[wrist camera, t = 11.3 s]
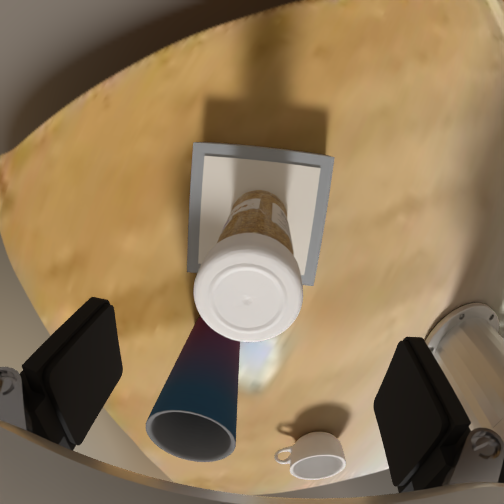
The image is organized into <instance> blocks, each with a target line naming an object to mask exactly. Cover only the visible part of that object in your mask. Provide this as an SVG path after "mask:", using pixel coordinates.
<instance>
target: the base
mask: <svg viewBox="0 0 504 504" xmlns="http://www.w3.org/2000/svg"><path fill="white" fill-rule="evenodd" d="M333 163H334V157H331V156H328V155H324V154H317V153H310V152H303V151H295V150H287V149H279V148H270V147H261V146H251V145H240V144H227V143H214V142H194V143H193V155H192V169H191V185H190V204H189V226H188V257H187V272H192V273H198V271H199V268H200V266H201V264H202V262H203V260H204V258H205V257H206V255H207V254H208V252H209V251H210V250H211V249H212V248H213V247H214V246H215V245H216V244H217V241H218V238H219V236H220V234H221V232H222V230H223V228H224V226H225V223H226V221H227V219H228V217H229V215H230V213H231V210H232V207H233V205H234V203H235V202H236V201H237V199H238V198H239V197H241V196H242V195H243V194H245V193H247V192H250V191H255V190H264V191H268V192H270V193H272V194H274V195H276V196H277V197H278V198H279V199H280V200H281V201H282V202H283V204H284V206H285V208H286V211H287V220H288V224H289V228H290V234H291V239H292V244H293V250H294V257H295V259H296V261H297V263H298V266H299V269H300V273H301V278H302V285H308V286H313V285H314V280H315V275H316V270H317V264H318V259H319V253H320V247H321V242H322V236H323V230H324V224H325V218H326V212H327V205H328V199H329V192H330V185H331V178H332V171H333Z"/></svg>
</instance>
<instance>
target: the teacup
mask: <svg viewBox="0 0 504 504" xmlns="http://www.w3.org/2000/svg"><path fill="white" fill-rule="evenodd" d="M285 451H289V452H290V453H291V454H290V456H289V457H288V458H287V459H285V460H279V459H278V456H277V455H278V454H279V453H281V452H285ZM275 460H276V461H277V462H278V463H280V464H288V463H289V464H290V472H291V474H292V475H293V476H295V477H297V478H300V479H306V480H317V479H324V478H328V477H331V476H333V475H336V474H338V473H339V472H341V471H342V470H343V469H344V468H345V466H346V460H345V456H344V452H343V448H342V445H341V443H340V441H339V440H338V439H337V438H336V437H335V436H333V435H332V434H330V433H327V432H312V433H308V434H306V435H304V436H302V437H301V438H299V439H298V440H297V441H296V442H295V444H294V445H292V446H290V447H286V448H282V449H280V450H278V451H277V452H276V453H275Z"/></svg>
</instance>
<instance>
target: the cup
mask: <svg viewBox="0 0 504 504" xmlns="http://www.w3.org/2000/svg"><path fill="white" fill-rule="evenodd" d="M239 350H240V341H236V340H232V339H229V338H227V337H225V336H223V335H221V334H219V333H217V332H216V331H214V330H213V329H212V328H211V327H210V326H209V325H208V324H207V323H206V322H205V321H204V320H203V319H202V317H201V316H200V317H199V318H198V319H197V321H196V323H195V325H194V327H193V329H192V331H191V333H190V335H189V337H188V339H187V341H186V343H185V345H184V347H183V349H182V351H181V353H180V355H179V357H178V359H177V361H176V363H175V365H174V367H173V369H172V371H171V373H170V375H169V377H168V379H167V381H166V383H165V385H164V387H163V389H162V391H161V393H160V395H159V397H158V399H157V401H156V403H155V405H154V407H153V409H152V411H151V413H150V415H149V418H148V420H147V422H146V431H147V434H148V436H149V437H150V439H151V440H152V441H153V442H154V443H155V444H156V445H157V446H158V447H160V448H161V449H162V450H164V451H166V452H167V453H169V454H172V455H174V456H176V457H179V458H182V459H186V460H190V461H197V462H211V461H217V460H221V459H223V458H226V457H227V456H229V455H230V454H231V453H232V452H233V451H234V449H235V446H236V421H237V396H238V373H239Z"/></svg>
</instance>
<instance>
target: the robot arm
mask: <svg viewBox="0 0 504 504" xmlns="http://www.w3.org/2000/svg"><path fill="white" fill-rule="evenodd" d="M22 368H23V371H22V372H21V373H20V374H19V373H18V371H16V370H15V369H13V368H9V367H0V504H504V339H503V338H502V336H501V335H500V334H499V319H498V317H497V314H496V313H495V312H494V311H493V310H492V309H491V308H490V307H489V306H488V305H486V304H483V303H471V304H467V305H464V306H461V307H459V308H457V309H456V310H454V311H452V312H451V313H449V314H448V315H447V316H445V317H444V318H443V319H442V320H441V321H440V322H439V323H438V324H437V325H436V326H435V328H434V329H433V330H432V331H431V333H430V334H429V336H428V337H427V339H426V341H424V339H423V338H421V337H406V338H404V340H403V341H400V342H399V343H398V345H397V348H396V351H395V353H394V356H393V358H392V361H391V363H390V365H389V368H388V370H387V373H386V375H385V377H384V380H383V382H382V384H381V386H380V389H379V391H378V393H377V395H376V397H375V400H374V412H375V415H376V419H377V422H378V426H379V430H380V434H381V437H382V441H383V445H384V449H385V453H386V457H387V461H388V465H389V469H390V474H391V478H392V482H393V485H394V486H397V487H398V491H399V493H396V494H387V495H379V496H367V497H354V498H334V499H333V498H332V499H300V498H277V497H263V496H252V495H243V494H235V493H227V492H221V491H214V490H208V489H202V488H197V487H192V486H187V485H182V484H178V483H173V482H169V481H165V480H161V479H156V478H153V477H149V476H145V475H142V474H138V473H135V472H132V471H128V470H125V469H122V468H119V467H116V466H113V465H110V464H107V463H104V462H101V461H98V460H96V459H93V458H90V457H88V456H85V455H82V454H80V453H77V452H75V451H73V449H74V448H75V446H76V445H80V444H81V443H82V442H83V440H84V438H85V436H86V435H87V433H88V431H89V430H90V428H91V426H92V424H93V423H94V421H95V419H96V418H97V416H98V414H99V412H100V411H101V409H102V408H103V406H104V404H105V403H106V401H107V399H108V398H109V396H110V394H111V393H112V391H113V389H114V388H115V386H116V384H117V383H118V381H119V379H120V378H121V376H122V372H123V366H122V361H121V355H120V349H119V342H118V335H117V328H116V320H115V312H114V307H113V306H112V305H110V303H109V301H108V300H105V299H100V298H96V297H91V298H90V299H89V300H88V301H87V302H86V303H85V304H84V305H82V306H81V307H80V308H79V309H78V310H77V311H76V312H75V313H74V314H73V315H72V316H71V317H70V318H69V319H68V320H67V321H66V322H65V323H64V324H63V325H61V326H60V327H59V328H58V329H57V330H56V331H55V332H54V333H53V334H52V335H51V336H50V337H49V338H48V339H47V340H46V341H45V342H44V343H43V344H42V345H41V346H40V347H39V348H38V349H37V350H36V352H34V353H33V354H32V355H31V357H30V358H29V359H28V360H27V361H26V362H25V363H24V364H23V365H22Z"/></svg>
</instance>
